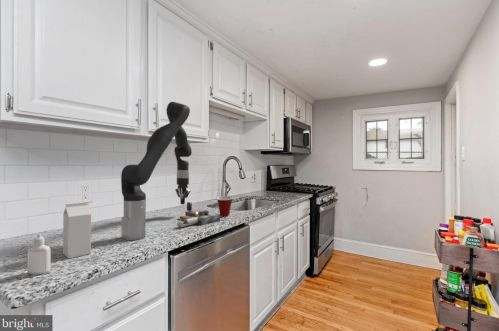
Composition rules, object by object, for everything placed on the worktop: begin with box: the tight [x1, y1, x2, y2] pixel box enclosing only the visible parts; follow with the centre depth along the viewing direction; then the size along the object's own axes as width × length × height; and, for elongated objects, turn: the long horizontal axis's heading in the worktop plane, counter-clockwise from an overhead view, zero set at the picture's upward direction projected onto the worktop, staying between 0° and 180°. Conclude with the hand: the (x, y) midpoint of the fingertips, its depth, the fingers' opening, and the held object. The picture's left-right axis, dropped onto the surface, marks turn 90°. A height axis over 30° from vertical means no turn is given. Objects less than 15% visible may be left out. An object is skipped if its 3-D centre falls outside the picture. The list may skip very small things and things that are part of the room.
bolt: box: [186, 201, 199, 216], centre depth 155 cm, size 3×10×7 cm, turn 52°
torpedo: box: [176, 217, 198, 228], centre depth 139 cm, size 18×5×7 cm, turn 146°
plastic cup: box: [216, 195, 234, 217], centre depth 166 cm, size 11×11×12 cm
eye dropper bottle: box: [26, 233, 51, 275], centre depth 78 cm, size 4×6×12 cm
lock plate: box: [179, 209, 221, 226], centre depth 151 cm, size 14×21×6 cm, turn 52°
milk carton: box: [62, 201, 92, 259], centre depth 94 cm, size 7×7×19 cm
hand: (182, 204), depth 162 cm, fingers closed
